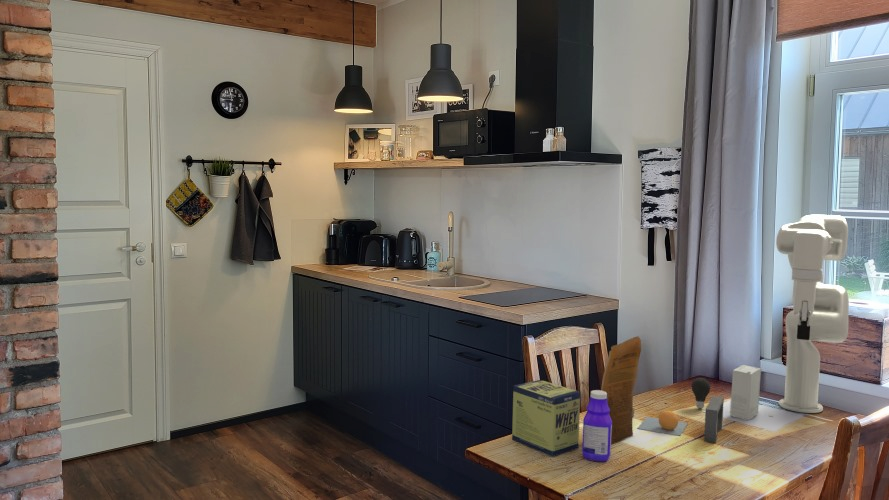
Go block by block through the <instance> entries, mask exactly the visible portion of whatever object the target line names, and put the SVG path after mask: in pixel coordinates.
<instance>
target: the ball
mask: <svg viewBox="0 0 889 500" xmlns="http://www.w3.org/2000/svg"><path fill="white" fill-rule="evenodd" d="M658 421H659V424H660V426H661V427H662V428H664V429H666V430H672V429H674V428H676V427H677V425H678V422H679V417H678V415H677V414H676V413H675V412H674V411H673V410H663V411H662V412H661V413H660V414H659V415H658Z"/></svg>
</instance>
